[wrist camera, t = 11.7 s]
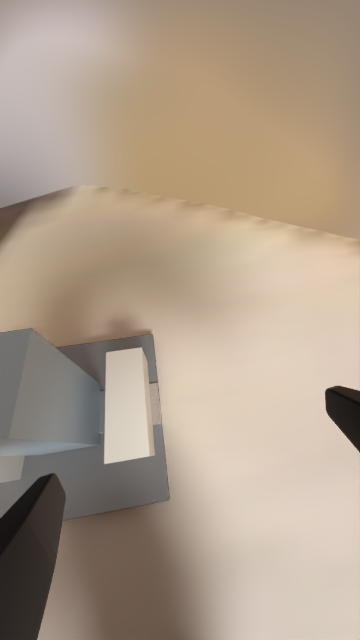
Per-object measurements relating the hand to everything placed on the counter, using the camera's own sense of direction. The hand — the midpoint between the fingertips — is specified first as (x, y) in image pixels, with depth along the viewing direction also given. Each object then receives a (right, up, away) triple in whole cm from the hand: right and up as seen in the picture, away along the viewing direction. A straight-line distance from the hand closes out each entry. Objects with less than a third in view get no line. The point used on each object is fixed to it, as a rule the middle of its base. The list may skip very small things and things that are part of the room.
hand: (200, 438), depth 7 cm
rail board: (-10, -5, +13) cm, 17 cm away
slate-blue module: (-10, -5, +12) cm, 16 cm away
